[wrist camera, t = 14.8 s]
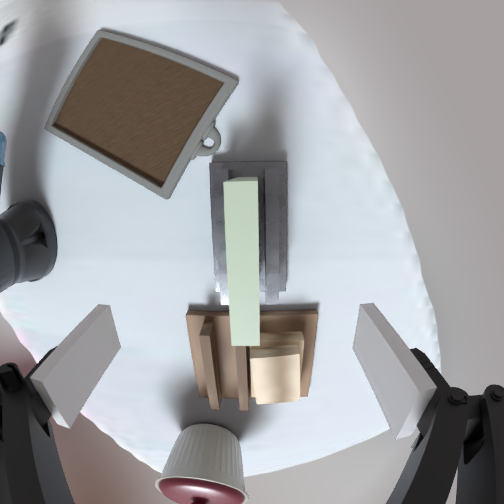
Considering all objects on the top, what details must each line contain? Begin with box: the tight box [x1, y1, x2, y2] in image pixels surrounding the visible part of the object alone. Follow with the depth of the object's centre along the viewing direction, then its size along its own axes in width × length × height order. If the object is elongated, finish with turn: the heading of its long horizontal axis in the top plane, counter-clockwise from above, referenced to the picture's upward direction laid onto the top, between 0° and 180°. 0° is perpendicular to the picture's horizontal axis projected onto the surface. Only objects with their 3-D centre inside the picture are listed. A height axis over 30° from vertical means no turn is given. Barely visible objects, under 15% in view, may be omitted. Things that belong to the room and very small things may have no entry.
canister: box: [155, 424, 249, 504], centre depth 42 cm, size 18×18×21 cm
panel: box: [223, 177, 260, 346], centre depth 30 cm, size 2×14×16 cm, turn 1°
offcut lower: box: [250, 331, 304, 397], centre depth 42 cm, size 8×12×2 cm, turn 1°
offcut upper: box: [250, 344, 300, 404], centre depth 40 cm, size 7×10×2 cm
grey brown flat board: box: [45, 30, 238, 199], centre depth 33 cm, size 19×2×30 cm
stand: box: [209, 161, 287, 305], centre depth 35 cm, size 10×18×8 cm, turn 1°
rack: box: [186, 309, 318, 411], centre depth 42 cm, size 20×18×6 cm
